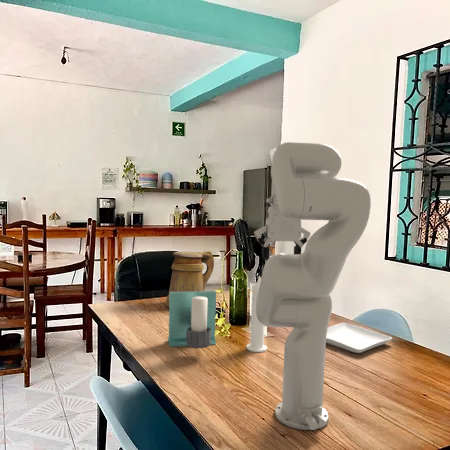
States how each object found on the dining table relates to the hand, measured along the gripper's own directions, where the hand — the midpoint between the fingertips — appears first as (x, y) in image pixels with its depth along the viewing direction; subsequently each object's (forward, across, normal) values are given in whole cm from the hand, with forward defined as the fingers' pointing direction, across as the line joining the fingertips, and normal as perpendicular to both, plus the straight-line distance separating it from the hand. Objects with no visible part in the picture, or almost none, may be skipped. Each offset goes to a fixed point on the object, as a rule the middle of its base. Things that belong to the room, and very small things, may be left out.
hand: (281, 260), depth 130 cm
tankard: (+34, -15, +76) cm, 84 cm away
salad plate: (+34, +35, +18) cm, 52 cm away
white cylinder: (+28, -22, +13) cm, 38 cm away
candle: (+34, -1, +17) cm, 38 cm away
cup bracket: (+33, -22, +19) cm, 44 cm away
